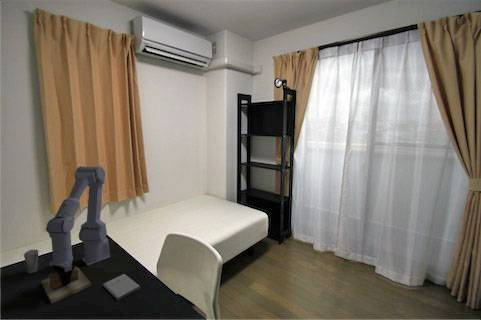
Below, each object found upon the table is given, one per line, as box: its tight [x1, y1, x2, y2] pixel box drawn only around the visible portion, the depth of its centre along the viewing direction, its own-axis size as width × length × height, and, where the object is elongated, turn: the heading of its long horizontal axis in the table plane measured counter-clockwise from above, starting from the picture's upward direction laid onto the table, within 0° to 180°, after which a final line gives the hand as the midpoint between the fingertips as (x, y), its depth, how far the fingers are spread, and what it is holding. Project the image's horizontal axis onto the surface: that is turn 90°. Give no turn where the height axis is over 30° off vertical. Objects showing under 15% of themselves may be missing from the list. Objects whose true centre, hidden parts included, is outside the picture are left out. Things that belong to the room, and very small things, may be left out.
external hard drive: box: [102, 273, 141, 301], centre depth 86 cm, size 2×8×12 cm
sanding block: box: [48, 265, 79, 290], centre depth 86 cm, size 8×4×4 cm, turn 141°
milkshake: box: [23, 249, 39, 274], centre depth 94 cm, size 4×5×10 cm
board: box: [41, 266, 92, 304], centre depth 87 cm, size 12×16×1 cm
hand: (64, 281), depth 86 cm, fingers closed on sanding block, 4 cm apart
